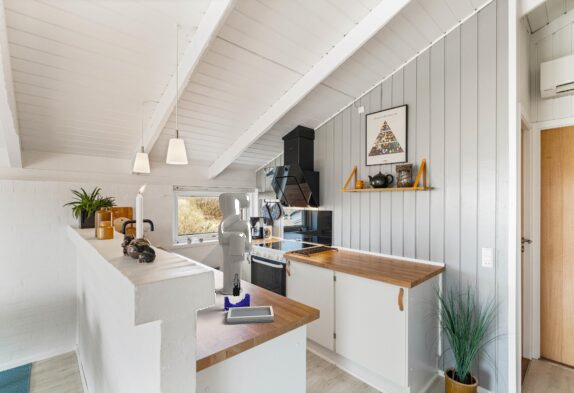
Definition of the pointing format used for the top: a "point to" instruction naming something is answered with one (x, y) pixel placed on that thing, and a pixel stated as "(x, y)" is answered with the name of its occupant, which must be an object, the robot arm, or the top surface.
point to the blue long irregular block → (242, 303)
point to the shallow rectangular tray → (250, 315)
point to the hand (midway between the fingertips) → (236, 293)
